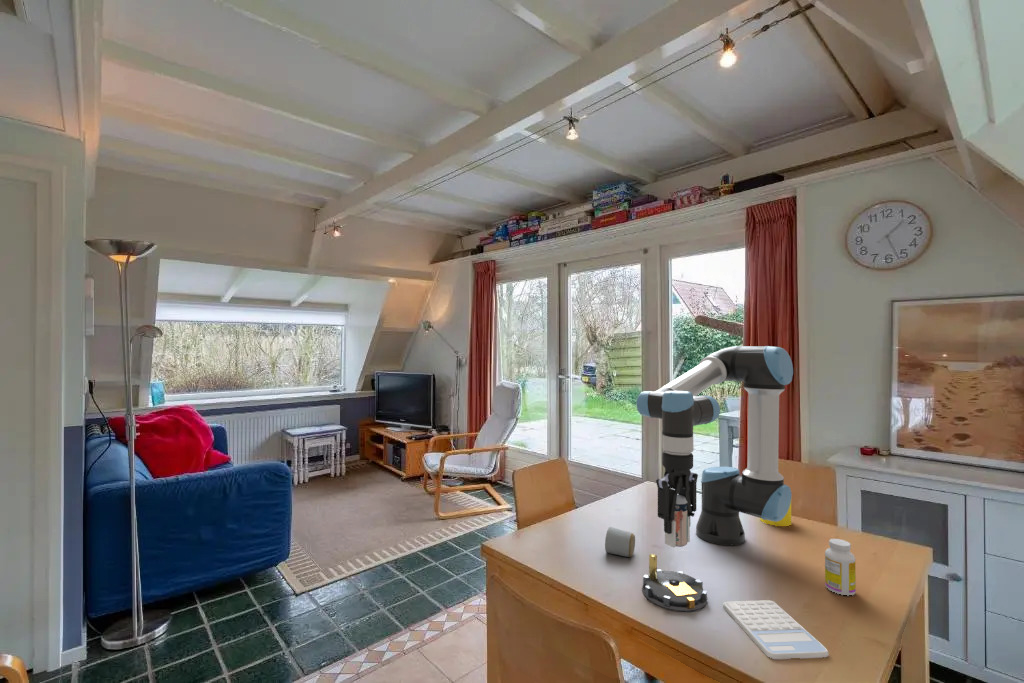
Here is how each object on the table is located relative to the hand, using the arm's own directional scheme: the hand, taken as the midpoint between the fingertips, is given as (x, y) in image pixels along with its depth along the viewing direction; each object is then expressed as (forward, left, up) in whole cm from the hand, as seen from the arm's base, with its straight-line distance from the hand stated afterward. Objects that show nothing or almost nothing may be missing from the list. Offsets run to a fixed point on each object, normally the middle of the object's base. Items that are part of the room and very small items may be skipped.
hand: (677, 542), depth 119 cm
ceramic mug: (+7, -27, -15) cm, 32 cm away
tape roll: (-57, -50, -15) cm, 77 cm away
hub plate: (0, -3, -15) cm, 15 cm away
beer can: (0, 0, -1) cm, 1 cm away
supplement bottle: (-45, -3, -15) cm, 48 cm away
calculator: (-17, +13, -15) cm, 26 cm away
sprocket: (0, -3, -15) cm, 15 cm away
